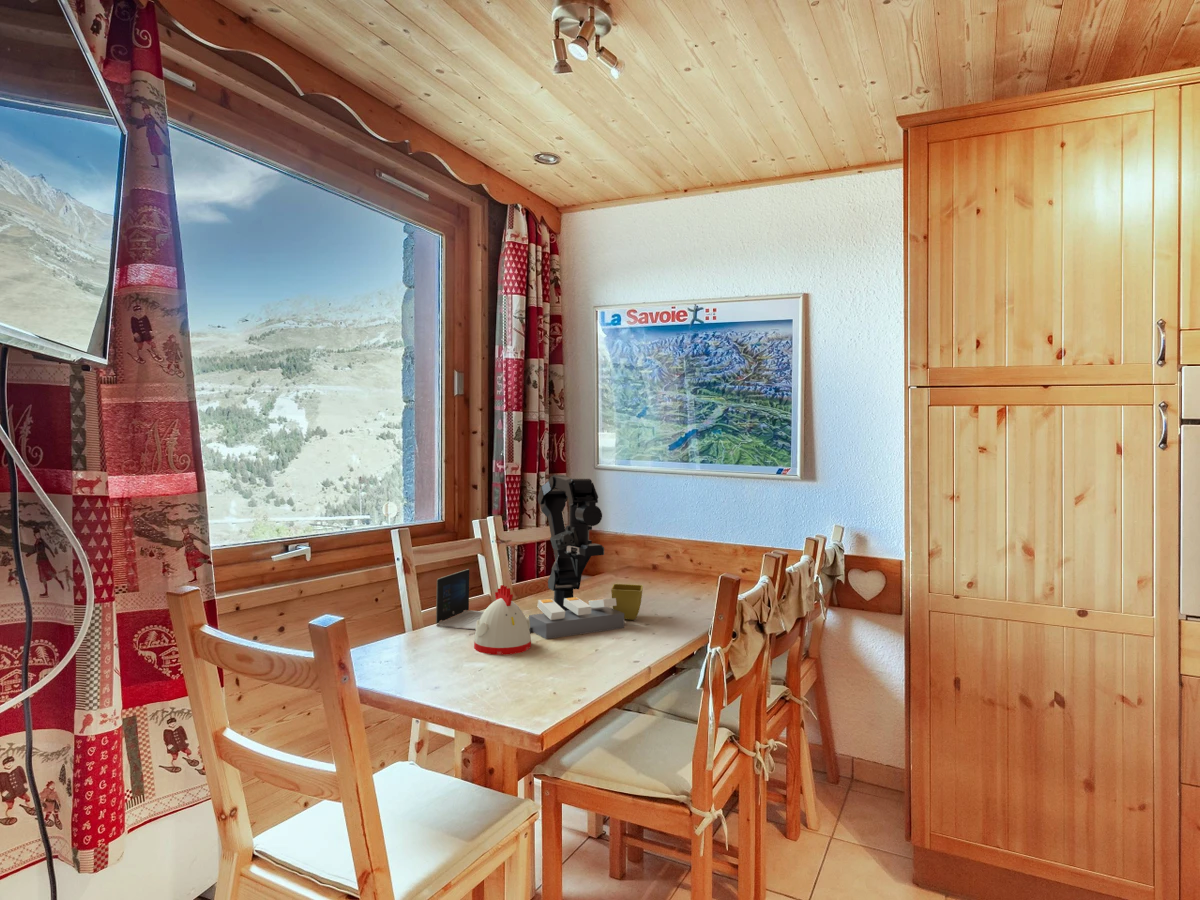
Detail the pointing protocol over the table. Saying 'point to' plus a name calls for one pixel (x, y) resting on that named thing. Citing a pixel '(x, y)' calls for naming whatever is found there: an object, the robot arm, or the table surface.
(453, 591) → the laptop
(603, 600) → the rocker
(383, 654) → the table surface
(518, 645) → the kitchen timer
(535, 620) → the power strip
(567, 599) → the block
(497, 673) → the table surface
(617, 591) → the flower pot
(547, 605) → the rocker
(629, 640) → the table surface
